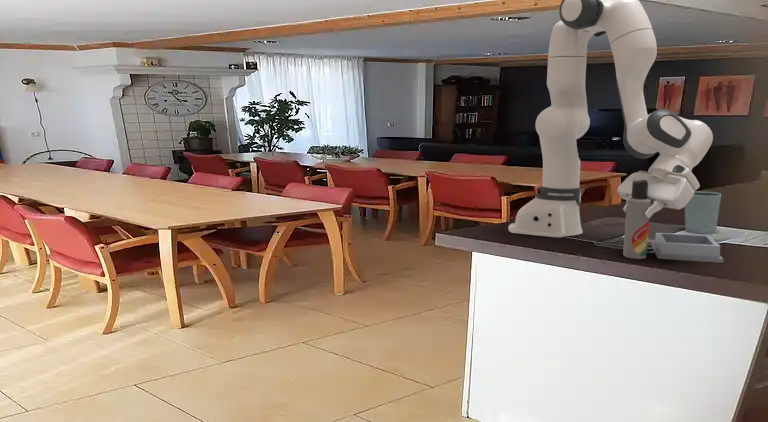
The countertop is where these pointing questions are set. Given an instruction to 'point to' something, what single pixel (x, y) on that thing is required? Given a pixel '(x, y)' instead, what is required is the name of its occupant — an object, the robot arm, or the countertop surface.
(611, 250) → the countertop surface
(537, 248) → the countertop surface
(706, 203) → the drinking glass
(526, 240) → the countertop surface
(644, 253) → the lotion bottle
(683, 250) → the shallow soap dish
